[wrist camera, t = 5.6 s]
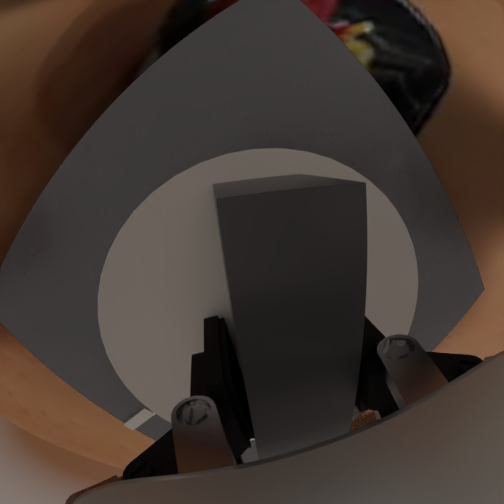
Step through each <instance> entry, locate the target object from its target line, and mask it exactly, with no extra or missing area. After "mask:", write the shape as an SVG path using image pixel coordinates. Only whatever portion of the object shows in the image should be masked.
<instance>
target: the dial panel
mask: <svg viewBox="0 0 504 504" xmlns="http://www.w3.org/2000/svg"><path fill="white" fill-rule="evenodd" d="M265 148H284V149H292V150H300V151H307V152H311V153H314V154H318V155H321V156H324V157H328V158H331V159H333V160H335V161H337V162H339V163H342V164H344V165H346V166H348V167H350V168H352V169H353V170H355V171H356V172H358V173H359V174H361V175H362V176H364V177H365V178H367V179H368V180H370V181H371V182H372V183H373V184H374V185H375V186H376V187H377V188H378V189H379V190H380V191H381V192H382V193H383V194H385V195H386V197H387V198H388V199H389V201H390V202H391V203H392V204H393V206H394V207H395V208H396V210H397V211H398V213H399V215H400V216H401V218H402V220H403V222H404V224H405V225H406V227H407V230H408V232H409V235H410V238H411V240H412V243H413V246H414V251H415V256H416V260H417V268H418V295H417V303H416V308H415V313H414V317H413V321H412V324H411V327H410V330H409V333H408V336H411V337H413V338H414V339H416V340H417V341H418V343H419V344H420V345H421V346H422V348H423V349H424V350H425V351H426V352H432V351H433V350H434V349H435V347H436V346H437V345H438V344H439V343H440V342H441V341H442V340H443V339H444V338H445V337H446V336H447V334H448V333H449V332H450V331H451V330H452V329H453V328H454V327H455V325H456V324H457V323H458V322H459V321H460V320H461V318H462V317H463V316H464V315H465V314H466V312H467V311H468V310H469V309H470V307H471V306H472V305H473V304H474V302H475V301H476V300H477V298H478V297H479V296H480V294H481V293H482V292H483V290H484V286H483V283H482V280H481V276H480V273H479V270H478V268H477V265H476V262H475V259H474V256H473V254H472V251H471V248H470V246H469V243H468V241H467V238H466V236H465V233H464V231H463V228H462V226H461V224H460V221H459V219H458V217H457V215H456V212H455V210H454V208H453V206H452V204H451V202H450V199H449V197H448V195H447V193H446V191H445V189H444V187H443V185H442V183H441V182H440V180H439V178H438V176H437V174H436V172H435V170H434V168H433V167H432V165H431V163H430V161H429V160H428V158H427V156H426V154H425V153H424V151H423V149H422V148H421V146H420V144H419V143H418V141H417V139H416V138H415V136H414V135H413V133H412V131H411V130H410V128H409V127H408V125H407V124H406V122H405V121H404V119H403V118H402V116H401V115H400V113H399V112H398V110H397V109H396V108H395V106H394V105H393V103H392V102H391V101H390V99H389V98H388V96H387V95H386V94H385V92H384V91H383V90H382V88H381V87H380V86H379V85H378V83H377V82H376V81H375V79H374V78H373V77H372V76H371V74H370V73H369V72H368V71H367V69H366V68H365V67H364V66H363V65H362V64H361V62H360V61H359V60H358V59H357V58H356V57H355V55H354V54H353V53H352V52H351V51H350V50H349V49H348V47H347V46H346V45H345V44H344V43H343V42H342V41H341V40H340V39H339V38H338V37H337V36H336V35H335V34H334V33H333V32H332V30H331V29H330V28H329V27H328V26H327V25H326V24H325V23H324V22H323V21H321V20H320V19H319V18H318V17H317V16H316V15H315V14H314V13H313V12H312V11H311V10H310V9H309V8H308V7H307V6H305V5H304V4H303V3H302V2H301V1H300V0H239V1H238V2H236V3H234V4H233V5H231V6H230V7H228V8H226V9H225V10H223V11H222V12H220V13H219V14H217V15H216V16H214V17H213V18H211V19H210V20H208V21H207V22H206V23H204V24H203V25H201V26H200V27H199V28H197V29H196V30H194V31H193V32H192V33H190V34H189V35H188V36H187V37H185V38H184V39H183V40H181V41H180V42H179V43H178V44H176V45H175V46H174V47H173V48H171V49H170V50H169V51H168V52H166V53H165V54H164V55H163V56H162V57H161V58H159V59H158V60H157V61H156V62H155V63H154V64H152V65H151V66H150V67H149V68H148V69H147V70H146V71H145V72H144V73H143V74H141V75H140V76H139V77H138V78H137V79H136V80H135V81H134V82H133V83H132V84H131V85H130V86H129V87H128V88H127V89H126V90H125V91H124V92H123V93H122V94H121V95H120V96H119V97H118V98H117V99H116V100H115V101H114V102H113V103H112V104H111V105H110V106H109V107H108V108H107V110H106V111H105V112H104V113H103V114H102V115H101V116H100V117H99V118H98V120H97V121H96V122H95V123H94V124H93V125H92V126H91V128H90V129H89V130H88V131H87V132H86V134H85V135H84V136H83V137H82V138H81V140H80V141H79V142H78V143H77V145H76V146H75V147H74V148H73V150H72V151H71V152H70V154H69V155H68V156H67V157H66V159H65V160H64V161H63V163H62V164H61V166H60V167H59V168H58V170H57V171H56V172H55V174H54V175H53V177H52V178H51V180H50V181H49V183H48V184H47V186H46V187H45V189H44V190H43V192H42V193H41V195H40V196H39V198H38V199H37V201H36V202H35V204H34V206H33V207H32V209H31V211H30V212H29V214H28V216H27V217H26V219H25V221H24V223H23V224H22V226H21V228H20V230H19V231H18V233H17V235H16V237H15V239H14V241H13V243H12V245H11V247H10V248H9V250H8V252H7V254H6V256H5V259H4V261H3V263H2V265H1V267H0V322H1V323H2V325H3V326H4V327H5V328H6V329H7V330H8V331H9V332H10V333H11V334H12V335H13V336H14V337H15V338H16V339H17V340H18V341H19V342H20V343H21V344H22V345H23V346H24V347H25V348H27V349H28V350H29V351H30V352H31V353H32V354H33V355H34V356H35V357H36V358H37V359H39V360H40V361H41V362H42V363H43V364H44V365H45V366H47V367H48V368H49V369H50V370H51V371H53V372H54V373H55V374H56V375H57V376H59V377H60V378H61V379H62V380H64V381H65V382H66V383H68V384H69V385H70V386H71V387H73V388H74V389H75V390H77V391H78V392H79V393H81V394H82V395H83V396H85V397H86V398H88V399H89V400H90V401H92V402H93V403H95V404H96V405H98V406H99V407H101V408H102V409H104V410H105V411H107V412H108V413H110V414H111V415H113V416H114V417H116V418H118V419H119V420H121V421H122V422H124V423H123V425H124V426H126V427H127V428H129V429H131V430H134V429H136V430H138V431H139V432H141V433H143V434H145V435H146V436H148V437H150V438H152V439H154V440H156V441H157V440H158V439H160V438H161V437H162V436H163V435H164V434H165V433H167V432H168V431H169V430H170V429H171V428H172V423H171V422H169V421H167V420H165V419H163V418H162V417H160V416H159V415H157V414H156V413H154V412H152V411H151V410H150V409H149V408H147V407H146V406H145V405H144V404H143V403H141V402H140V401H139V400H138V399H137V398H136V397H135V396H134V395H133V394H132V393H131V392H130V390H129V389H128V388H127V387H126V386H125V385H124V383H123V382H122V380H121V379H120V377H119V376H118V374H117V373H116V372H115V370H114V368H113V366H112V364H111V362H110V360H109V358H108V356H107V353H106V350H105V347H104V344H103V341H102V338H101V333H100V328H99V322H98V290H99V284H100V277H101V273H102V270H103V267H104V263H105V260H106V257H107V254H108V252H109V250H110V248H111V246H112V244H113V242H114V240H115V238H116V236H117V234H118V232H119V231H120V229H121V228H122V226H123V225H124V224H125V222H126V221H127V220H128V218H129V217H130V215H131V214H132V213H133V211H134V210H135V209H136V208H137V207H138V206H139V205H140V204H141V203H142V202H143V201H144V200H145V199H146V198H147V197H148V196H149V195H150V194H151V193H152V192H153V191H155V190H156V189H158V188H159V187H160V186H162V185H163V184H164V183H166V182H167V181H168V180H170V179H171V178H173V177H174V176H176V175H177V174H179V173H181V172H183V171H185V170H187V169H189V168H191V167H193V166H195V165H197V164H199V163H201V162H204V161H207V160H209V159H212V158H215V157H218V156H221V155H224V154H228V153H233V152H239V151H244V150H250V149H265ZM364 412H365V411H363V412H361V413H360V412H359V410H358V408H357V407H356V406H354V412H353V418H352V421H353V420H355V419H356V418H357V417H359V416H360V415H361V414H363V413H364ZM250 442H251V448H247V449H246V451H245V452H244V453H243V454H242V455H241V456H242V458H243V461H244V463H248V462H253V461H257V460H259V458H258V454H257V449H256V444H255V440H250Z"/></svg>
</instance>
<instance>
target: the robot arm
mask: <svg viewBox="0 0 504 504" xmlns="http://www.w3.org/2000/svg"><path fill="white" fill-rule="evenodd" d="M355 406H356V407H357V408H358V410H359V412H360V413H361V412H363V411H366V410H368V409H369V410H374V413H375V416H376V419H377V421H374V422H372V423H370V424H367V425H365V426H363V427H360V428H358V429H355V430H353V431H350V432H348V433H345V434H343V435H340V436H337V437H335V438H332V439H329V440H326V441H323V442H320V443H317V444H314V445H311V446H308V447H305V448H302V449H298V450H295V451H292V452H288V453H285V454H281V455H277V456H273V457H270V458H266V459H261V460H257V461H253V462H248V463H244V461H243V458H242V456H241V455H242V454H243V453H244V452H245V451H246V449H247V448H251V442H250V439H253V438H255V436H254V431H253V427H252V422H251V417H250V412H249V407H248V402H247V397H246V392H245V387H244V382H243V377H242V371H241V368H240V365H239V362H238V359H237V356H236V353H235V350H234V347H233V344H232V341H231V338H230V335H229V332H228V329H227V326H226V323H225V320H224V318H218V316H217V315H216V316H212V317H208V318H204V352H201V353H196V354H193V355H192V357H191V382H190V397H188V398H186V399H183V400H182V401H180V402H179V403H178V404H177V405H176V406H175V407H174V409H173V411H172V413H171V422H172V428H171V429H170V430H169V431H168V432H167V433H165V434H164V435H163V436H162V437H161V438H160V439H158V440H157V441H156V442H155V443H154V444H152V445H151V446H150V447H149V448H148V449H146V450H145V451H144V452H143V453H142V454H140V455H139V456H138V457H137V458H135V459H134V460H133V461H132V462H130V463H129V465H128V466H127V467H126V468H125V470H124V472H123V476H121V477H118V476H117V475H115V476H113V477H111V478H109V479H107V480H104V481H102V482H100V483H98V484H96V485H93V486H91V487H88V488H86V489H83V490H81V491H79V492H76V493H74V494H72V495H71V496H70V497H69V498H68V499H67V500H66V504H504V351H502V352H500V353H498V354H496V355H494V356H490V357H485V359H484V361H483V360H481V359H480V358H478V357H476V356H473V355H464V354H449V353H437V352H426V351H425V350H424V349H423V348H422V346H421V345H420V344H419V343H418V341H417V340H416V339H414V338H413V337H411V336H408V335H403V334H396V335H391V336H389V337H385V336H384V335H383V334H382V333H381V332H380V331H379V330H378V329H377V328H376V326H375V325H374V324H373V323H372V322H371V321H370V320H369V319H368V318H367V317H366V316H365V321H364V333H363V344H362V354H361V363H360V371H359V379H358V386H357V393H356V399H355Z"/></svg>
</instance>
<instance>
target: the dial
mask: <svg viewBox="0 0 504 504" xmlns="http://www.w3.org/2000/svg"><path fill="white" fill-rule="evenodd" d="M417 295H418V268H417V260H416V256H415V251H414V246H413V243H412V240H411V238H410V235H409V232H408V230H407V227H406V225H405V224H404V222H403V220H402V218H401V216H400V215H399V213H398V211H397V210H396V208H395V207H394V206H393V204H392V203H391V202H390V201H389V199H388V198H387V197H386V195H385V194H383V193H382V192H381V191H380V190H379V189H378V188H377V187H376V186H375V185H374V184H373V183H372V182H371V181H370V180H368V179H367V178H365V177H364V176H362V175H361V174H359V173H358V172H356V171H355V170H353V169H352V168H350V167H348V166H346V165H344V164H342V163H339V162H337V161H335V160H333V159H331V158H328V157H324V156H321V155H318V154H314V153H311V152H307V151H300V150H292V149H284V148H265V149H250V150H244V151H239V152H233V153H228V154H224V155H221V156H218V157H215V158H212V159H209V160H207V161H204V162H201V163H199V164H197V165H195V166H193V167H191V168H189V169H187V170H185V171H183V172H181V173H179V174H177V175H176V176H174V177H173V178H171V179H170V180H168V181H167V182H166V183H164V184H163V185H162V186H160V187H159V188H158V189H156V190H155V191H153V192H152V193H151V194H150V195H149V196H148V197H147V198H146V199H145V200H144V201H143V202H142V203H141V204H140V205H139V206H138V207H137V208H136V209H135V210H134V211H133V213H132V214H131V215H130V217H129V218H128V220H127V221H126V222H125V224H124V225H123V226H122V228H121V229H120V231H119V232H118V234H117V236H116V238H115V240H114V242H113V244H112V246H111V248H110V250H109V252H108V254H107V257H106V260H105V263H104V267H103V270H102V273H101V277H100V284H99V290H98V322H99V328H100V333H101V338H102V341H103V344H104V347H105V350H106V353H107V356H108V358H109V360H110V362H111V364H112V366H113V368H114V370H115V372H116V373H117V374H118V376H119V377H120V379H121V380H122V382H123V383H124V385H125V386H126V387H127V388H128V389H129V390H130V392H131V393H132V394H133V395H134V396H135V397H136V398H137V399H138V400H139V401H140V402H141V403H143V404H144V405H145V406H146V407H147V408H149V409H150V410H151V411H152V412H154V413H156V414H157V415H159V416H160V417H162V418H163V419H165V420H167V421H169V422H171V413H172V411H173V409H174V407H175V406H176V405H177V404H178V403H179V402H180V401H182V400H183V399H186V398H188V397H190V382H191V357H192V355H193V354H196V353H201V352H204V318H208V317H212V316H216V315H217V316H218V318H224V320H225V323H226V326H227V329H228V332H229V335H230V338H231V341H232V344H233V347H234V350H235V353H236V356H237V359H238V362H239V365H240V368H241V371H242V377H243V382H244V387H245V392H246V397H247V402H248V407H249V412H250V417H251V422H252V427H253V431H254V436H255V438H253V439H250V440H255V444H256V449H257V454H258V458H259V460H261V459H266V458H270V457H273V456H277V455H281V454H285V453H288V452H292V451H295V450H298V449H302V448H305V447H308V446H311V445H314V444H317V443H320V442H323V441H326V440H329V439H332V438H335V437H337V436H340V435H343V434H345V433H348V432H350V428H351V423H352V418H353V412H354V406H355V399H356V393H357V386H358V379H359V371H360V363H361V354H362V344H363V333H364V321H365V316H366V317H367V318H368V319H369V320H370V321H371V322H372V323H373V324H374V325H375V326H376V328H377V329H378V330H379V331H380V332H381V333H382V334H383V335H384V336H385V337H389V336H391V335H396V334H403V335H408V333H409V330H410V327H411V324H412V321H413V317H414V313H415V308H416V303H417ZM171 423H172V422H171Z"/></svg>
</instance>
